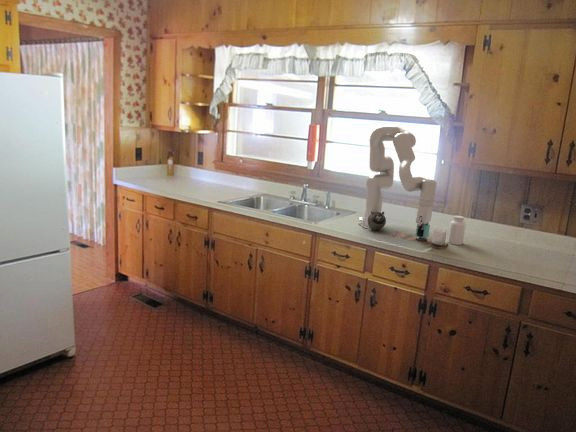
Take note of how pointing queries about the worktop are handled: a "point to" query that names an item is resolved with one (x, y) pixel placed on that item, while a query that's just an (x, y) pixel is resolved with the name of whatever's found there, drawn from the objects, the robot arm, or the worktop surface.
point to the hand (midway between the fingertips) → (422, 234)
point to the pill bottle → (456, 230)
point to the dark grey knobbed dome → (421, 239)
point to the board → (413, 238)
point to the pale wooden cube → (438, 238)
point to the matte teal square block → (426, 230)
